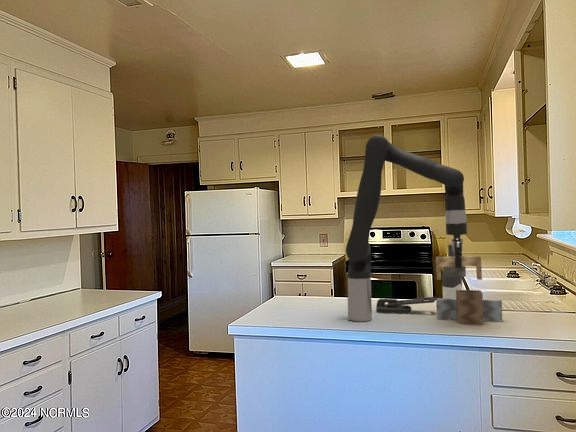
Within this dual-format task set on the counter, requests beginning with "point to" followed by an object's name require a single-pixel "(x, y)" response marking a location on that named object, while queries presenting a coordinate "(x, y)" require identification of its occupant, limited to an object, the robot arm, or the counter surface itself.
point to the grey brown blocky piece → (469, 308)
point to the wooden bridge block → (459, 271)
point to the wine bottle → (450, 279)
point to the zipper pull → (400, 305)
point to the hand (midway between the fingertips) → (458, 266)
